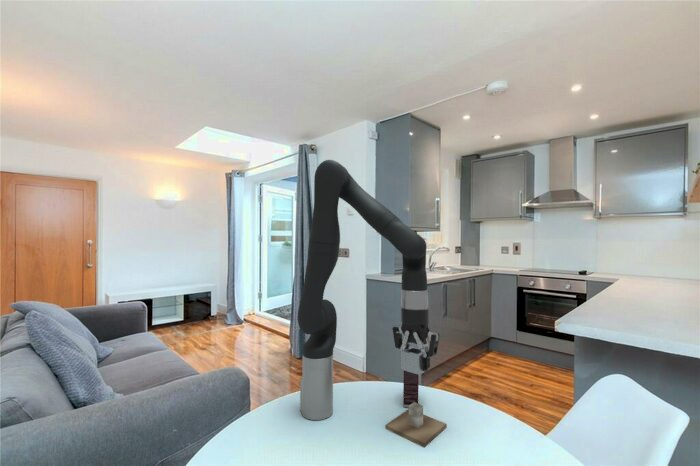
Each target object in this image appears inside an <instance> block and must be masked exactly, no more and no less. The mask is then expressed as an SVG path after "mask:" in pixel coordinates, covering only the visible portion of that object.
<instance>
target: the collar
mask: <svg viewBox="0 0 700 466" xmlns="http://www.w3.org/2000/svg"><path fill="white" fill-rule="evenodd" d="M422 357H423V355H422V352H421V350H420V349H419V347H415V346H409V348H407V349H405V350H402V351H401V350H400V363H401V364H400V368H401V370H403V371H404V370H405V371H408V372H411V373H415V374H418V375H419V376H420V375H422V374H423V373H425V372H426V371H423V370H422ZM430 369H431V367H430V368H429V369H428V370H427V371H429V370H430Z"/></svg>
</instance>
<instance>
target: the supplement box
mask: <svg viewBox="0 0 700 466" xmlns="http://www.w3.org/2000/svg"><path fill="white" fill-rule="evenodd" d="M419 376H420V375H418V374H415V373H411V372H408V371H405V370H403V394H402V395H403V396H402V397H403V405H402V406H403V408H407V409H409V405H411V404H412V403H414V402H415V403H418V404H419V382H420V381H419V379H420V378H419Z"/></svg>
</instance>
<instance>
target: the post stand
mask: <svg viewBox="0 0 700 466" xmlns="http://www.w3.org/2000/svg"><path fill="white" fill-rule="evenodd" d="M384 427H385V430H388V431H389V432H392V433H393V434H396V435H397V436H400V437H402V438H404V439H406V440H408V441H411V442H413V443H414V444H417V445H419V446H421V447H423V448H425V447H427V446H428V445H429V444H430V443H431V442H432V441H434V439H436V437H438V436H439V435H440V434H441V433H442V432H443V431H444V430H445V429H446V428H447V423H446V422H444V421H440V420H439V419H436V418H433V417H431V416H428V415H426V414H424V405H422V404H420V403H419V402H418V403H415V402H414V403H412V404H411V405H409V408H407V409H406V410H405V411H404V412H402V413H401V414H398V416H396V417H394V418H393V419H391V420H390V421H389V422H387V423H385V426H384Z"/></svg>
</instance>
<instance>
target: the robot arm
mask: <svg viewBox="0 0 700 466" xmlns="http://www.w3.org/2000/svg"><path fill="white" fill-rule="evenodd" d="M313 183H314V186H313V188H314V189H313V190H314V191H313V193H314V194H313V196H314V197H313V210H312V216H311V227H310V233H309V240H308V247H307V258H306V259H307V260H306V267H305V274H304V281H303V287H302V290H301V291H302V292H301V296H300V301H299V306H298V310H297V324H298V326H299V329H300V331H301V332H302V333H303V334H305V335H309V337H308V339H307V340H306V341H305V343H304V344H303V345H302V375H301V376H302V377H301V378H300V380H299V383H300V384H299V388H300V392H299V396H300V397H299V398H300V399H299V411H300V412H301V415H302V416H303V417H304V418H305V419H307V420H311V421H321V420H322V421H323V420H325V419H328V418H329V417H331V416H332V415H333V413H334V348H335V345H336V341H337V328H338V327H337V326H338V315H337V310H336V307H335V305H334V304H333V302H332V301H330V300H328V299H324V295H325V290H326V286H327V284H328V282H329V279H330V277H331V275H332V273H333V271H334V270H335V268H336V265H337V263H338V260H339V253H340V244H341V231H340V230H341V228H340V222H339V213H338V211H339V201H340V199H341V200H342V201H345V203H347V204H348V205H349V206H351V208H353V209H354V210H355V212H357V213H358V215H359V216H361V218H363V220H364V221H365V222H366V223H367V224H368V225H369V226H370V227H371V228H372V229H374V230H375V231H376V232H377V233H378V234H379V235H380V236H381V237H383V239H386V240H387V241H389V242H390V244H391V245H392V246H393V247H394V248H395V249H396V251H397V250H398V252H399V253H400V254H401V257H402V272H401V294H400V317H401V318H400V319H401V323H402V324H401V326H400V325H396V326H393V327H392V334H393V340H394V347H395V348H396V349H399V350H400V352H401V351H402V350H405V349H407V348H410V347H411V344H415V345H417V348H419V349H420V350H421V352H422V355H423V357H422V370H423V371H425V372H427V371H429V370H430V369H431V357H433V356H436V355H437V354H438V350H439V348H438V347H439V342H440V336H441V335H440V333H438V332H432V331H430V328H429V323H430V322H429V321H430V319H429V318H430V316H429V314H430V313H429V312H430V311H429V304H430V303H429V294H428V275H427V270H426V269H427V266H426V265H427V242H426V241H425V239H424V237H422V236H421V235H420V234H418V232H416V231H414V230H413V229H412V228H410V226H408V225H407V224H405V223H404V222H403V221H402V220H401V219H400V218H399V217H398V216H397V215H396V214H394V212H392V211H391V210H390V209H388V207H386V206H385V205H384V204H382V203H381V202H380V201H379V200H377V199H376V198H374V197H373V196H372V195H371V194H369V193H368V192H367V191H365V189H363V188H362V186H360V185H359V183H357V181H356V180H355V178H353V176H352V175H351V174H350V173H349V171H348V169H347V168H346V167H345V166H343V165H342V164H341V163H340V162H338V161H336V160H333V159H325V160H324V161H322V162H320V163H319V164H318V166H317V167H316V170H315V173H314V182H313ZM428 339H429V341H428ZM429 368H430V369H429ZM428 369H429V370H428Z"/></svg>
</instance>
